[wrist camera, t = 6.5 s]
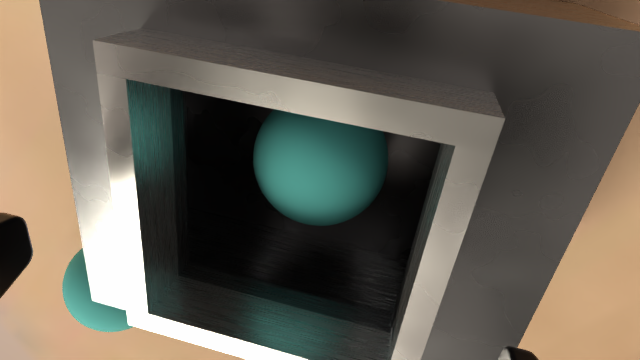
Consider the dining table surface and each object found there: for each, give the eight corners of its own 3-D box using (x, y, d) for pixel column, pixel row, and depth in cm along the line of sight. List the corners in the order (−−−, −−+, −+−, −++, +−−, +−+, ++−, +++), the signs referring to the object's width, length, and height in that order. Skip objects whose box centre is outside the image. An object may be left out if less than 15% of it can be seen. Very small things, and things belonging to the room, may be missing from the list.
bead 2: (404, 88, 14) (396, 134, 10) (380, 197, 15) (366, 267, 12) (281, 65, 14) (233, 101, 11) (272, 174, 16) (229, 234, 12)
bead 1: (183, 228, 19) (126, 290, 15) (185, 296, 21) (135, 364, 17) (100, 208, 19) (28, 262, 16) (110, 276, 21) (48, 338, 18)
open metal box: (575, 3, 12) (726, 55, 6) (469, 280, 17) (490, 469, 11) (172, -58, 14) (-43, -68, 7) (182, 209, 18) (55, 337, 12)
